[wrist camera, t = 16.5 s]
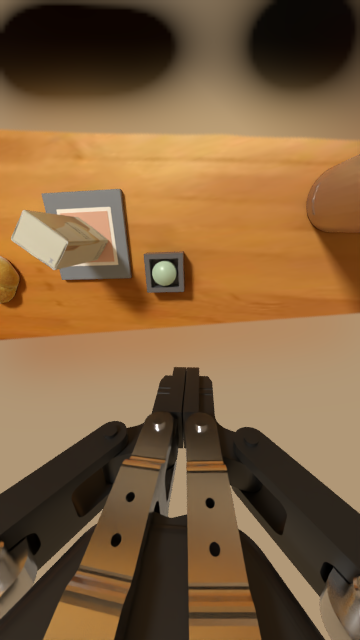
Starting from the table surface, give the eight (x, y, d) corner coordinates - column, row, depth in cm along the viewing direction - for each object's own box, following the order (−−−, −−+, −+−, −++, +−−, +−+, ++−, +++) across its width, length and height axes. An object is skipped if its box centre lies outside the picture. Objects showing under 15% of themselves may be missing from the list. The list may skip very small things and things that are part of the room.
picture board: (121, 189, 35) (119, 188, 34) (131, 277, 40) (130, 278, 40) (44, 194, 36) (41, 193, 35) (64, 278, 41) (61, 279, 41)
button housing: (183, 251, 38) (182, 253, 35) (184, 287, 40) (183, 291, 38) (147, 252, 39) (143, 254, 36) (150, 288, 41) (147, 292, 38)
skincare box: (109, 240, 37) (71, 243, 26) (97, 260, 39) (56, 272, 27) (76, 215, 36) (21, 207, 25) (65, 237, 38) (8, 239, 26)
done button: (176, 259, 37) (175, 261, 36) (177, 283, 39) (176, 285, 37) (153, 260, 38) (151, 261, 36) (155, 283, 39) (153, 285, 38)
